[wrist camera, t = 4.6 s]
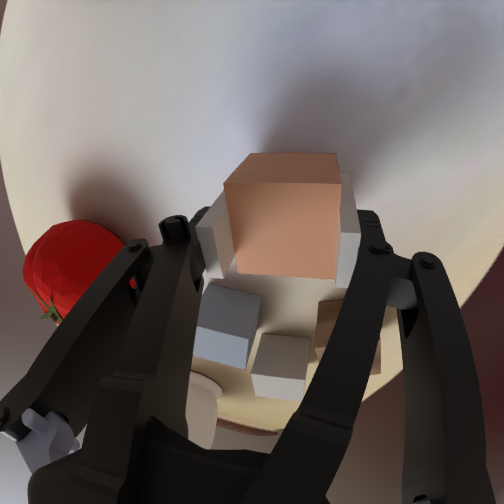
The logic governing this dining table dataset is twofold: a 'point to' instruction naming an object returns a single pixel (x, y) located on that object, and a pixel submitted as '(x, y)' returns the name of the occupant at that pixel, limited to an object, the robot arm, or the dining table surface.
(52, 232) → the tomato
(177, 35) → the dining table surface
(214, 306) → the slate cube
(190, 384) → the jar
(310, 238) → the terracotta cube
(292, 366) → the grey cube
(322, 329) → the walnut cube
